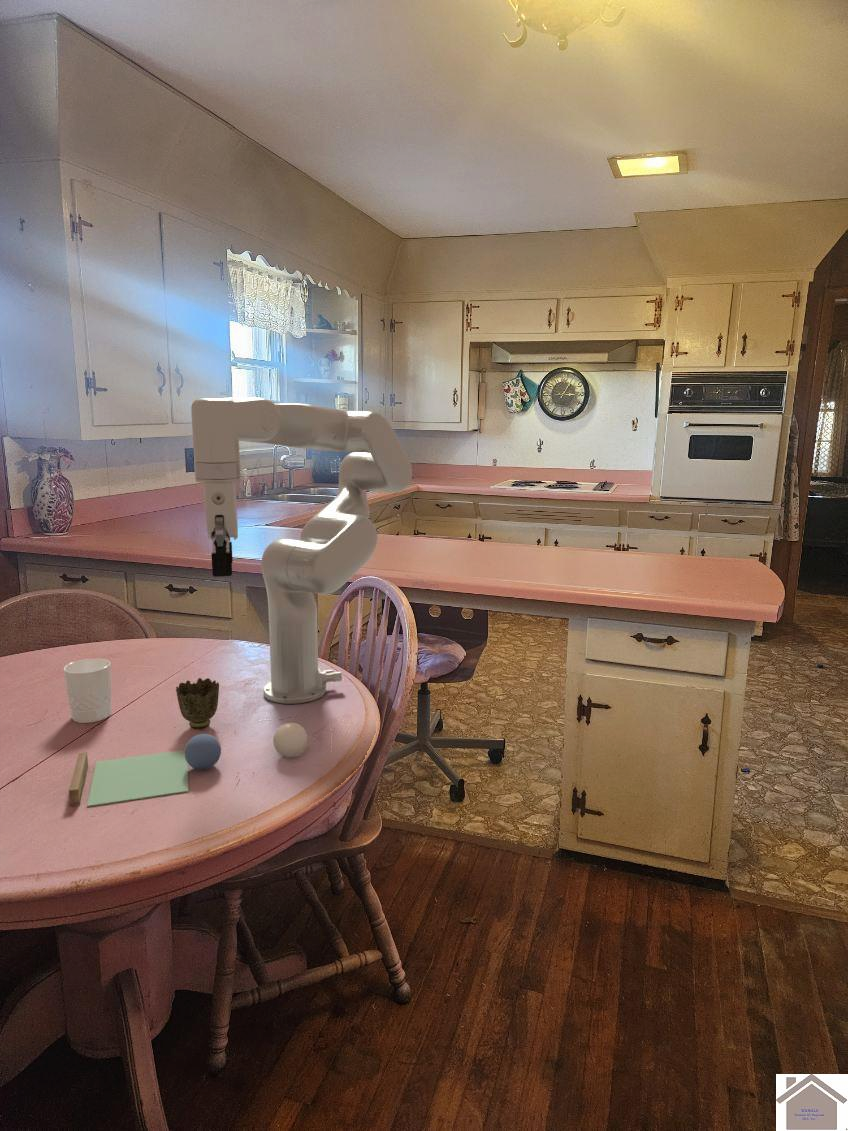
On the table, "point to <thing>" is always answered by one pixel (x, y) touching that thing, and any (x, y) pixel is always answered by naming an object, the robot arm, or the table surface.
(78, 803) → the stop rail
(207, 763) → the object ball
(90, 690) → the white cup
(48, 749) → the table surface
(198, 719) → the cup
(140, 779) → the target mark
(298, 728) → the cream ball
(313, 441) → the robot arm
